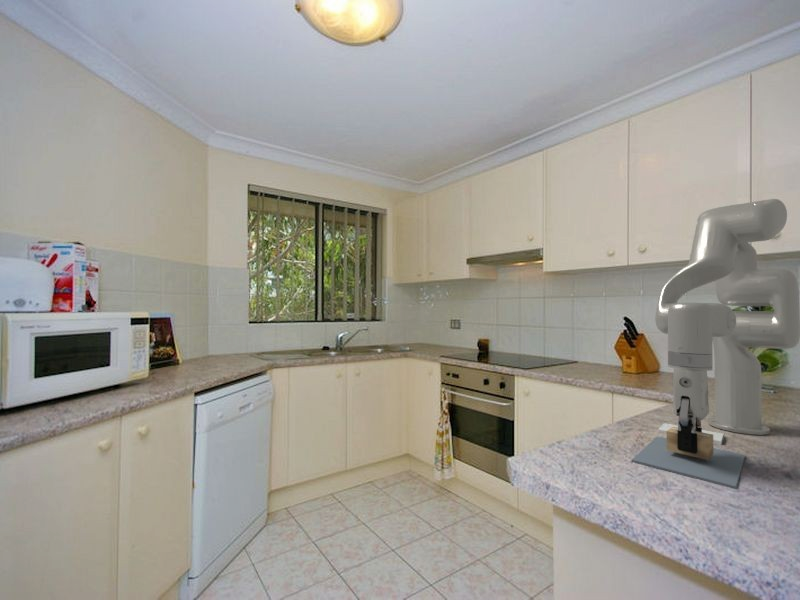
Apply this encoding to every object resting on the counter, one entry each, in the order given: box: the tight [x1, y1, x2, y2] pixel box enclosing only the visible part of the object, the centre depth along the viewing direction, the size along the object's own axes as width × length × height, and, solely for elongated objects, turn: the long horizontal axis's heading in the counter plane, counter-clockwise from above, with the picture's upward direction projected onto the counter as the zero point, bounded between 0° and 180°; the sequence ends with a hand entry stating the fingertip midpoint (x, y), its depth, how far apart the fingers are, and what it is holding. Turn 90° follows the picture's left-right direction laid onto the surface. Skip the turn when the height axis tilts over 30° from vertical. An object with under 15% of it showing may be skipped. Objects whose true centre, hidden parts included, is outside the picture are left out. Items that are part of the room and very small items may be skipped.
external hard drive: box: [658, 422, 725, 446], centre depth 96 cm, size 2×8×12 cm
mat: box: [631, 436, 746, 489], centre depth 80 cm, size 22×16×1 cm
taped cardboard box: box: [666, 427, 714, 460], centre depth 80 cm, size 7×5×4 cm
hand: (689, 447), depth 80 cm, fingers closed on taped cardboard box, 5 cm apart
